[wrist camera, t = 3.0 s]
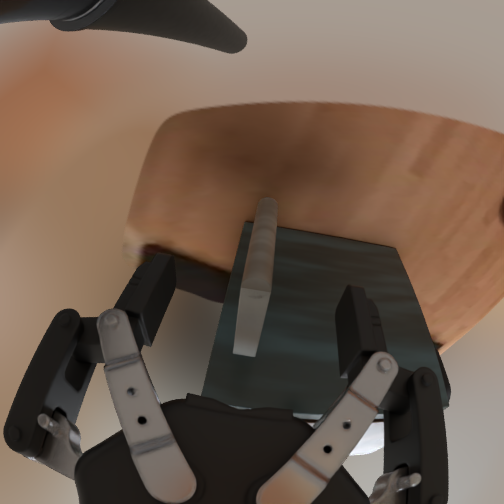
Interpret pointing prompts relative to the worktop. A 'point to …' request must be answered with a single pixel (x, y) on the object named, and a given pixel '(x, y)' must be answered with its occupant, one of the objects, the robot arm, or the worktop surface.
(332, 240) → the door
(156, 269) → the robot arm
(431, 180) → the worktop surface
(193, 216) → the worktop surface
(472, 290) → the worktop surface
